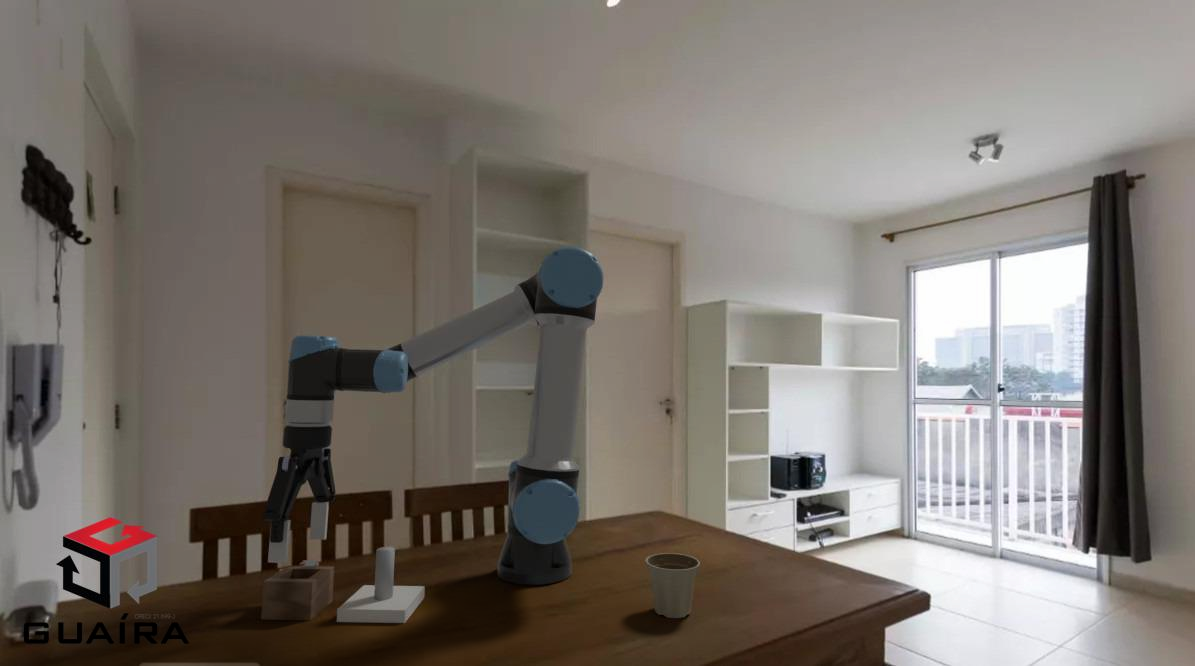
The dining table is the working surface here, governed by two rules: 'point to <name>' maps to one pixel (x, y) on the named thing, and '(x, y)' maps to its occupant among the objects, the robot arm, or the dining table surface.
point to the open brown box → (297, 592)
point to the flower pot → (672, 583)
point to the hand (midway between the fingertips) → (299, 550)
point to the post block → (382, 596)
